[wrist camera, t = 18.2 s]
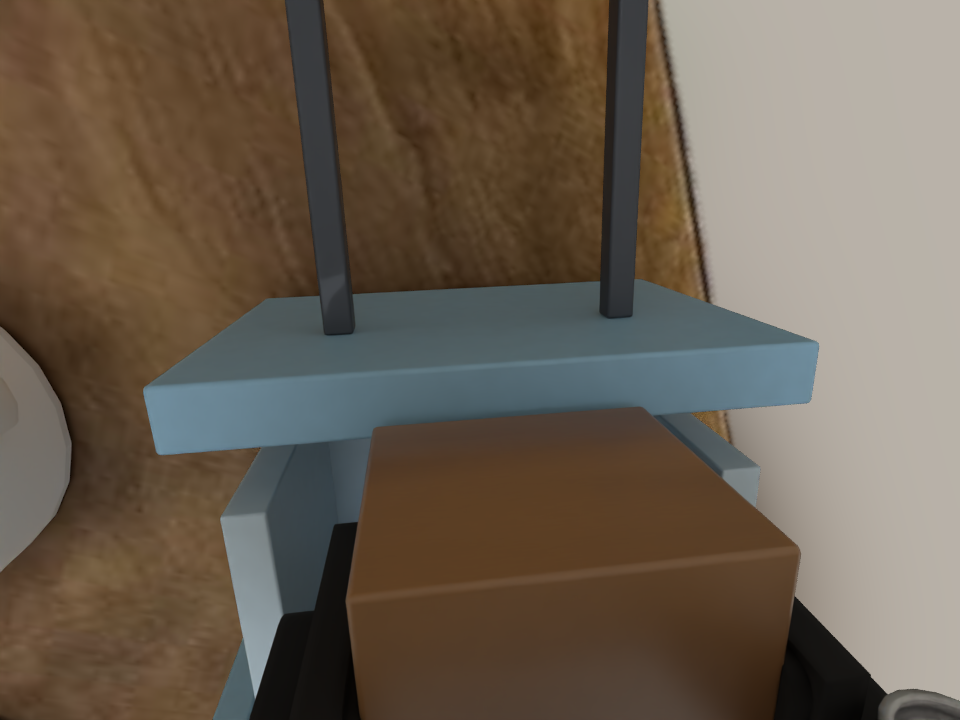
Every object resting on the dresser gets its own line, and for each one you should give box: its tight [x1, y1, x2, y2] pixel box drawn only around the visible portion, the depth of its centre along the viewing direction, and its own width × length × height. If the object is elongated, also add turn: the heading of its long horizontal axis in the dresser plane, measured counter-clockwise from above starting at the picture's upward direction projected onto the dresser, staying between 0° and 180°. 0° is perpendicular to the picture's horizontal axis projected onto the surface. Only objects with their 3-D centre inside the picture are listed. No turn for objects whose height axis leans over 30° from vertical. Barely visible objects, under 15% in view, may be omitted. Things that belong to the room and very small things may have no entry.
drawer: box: [143, 0, 819, 699], centre depth 14 cm, size 21×11×8 cm, turn 2°
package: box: [346, 407, 801, 720], centre depth 8 cm, size 6×4×4 cm
